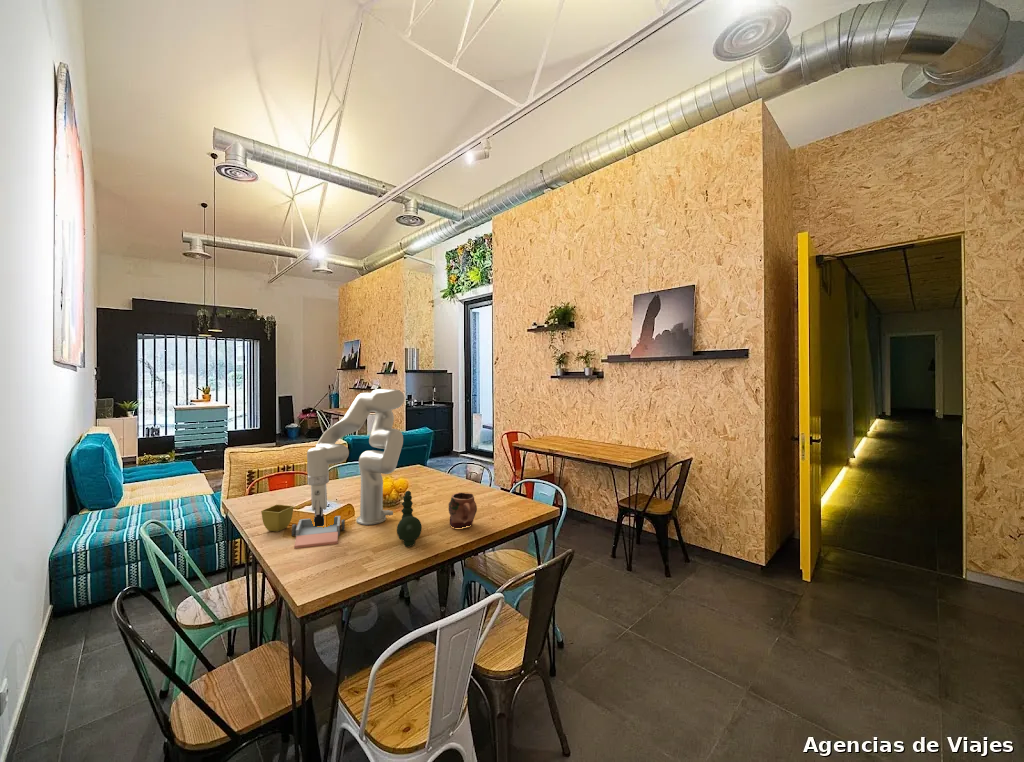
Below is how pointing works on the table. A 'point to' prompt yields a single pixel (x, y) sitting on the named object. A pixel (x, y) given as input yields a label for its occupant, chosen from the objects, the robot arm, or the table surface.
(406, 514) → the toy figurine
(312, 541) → the panel
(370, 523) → the robot arm
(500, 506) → the table surface
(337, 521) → the trailer
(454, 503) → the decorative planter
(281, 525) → the flower pot
